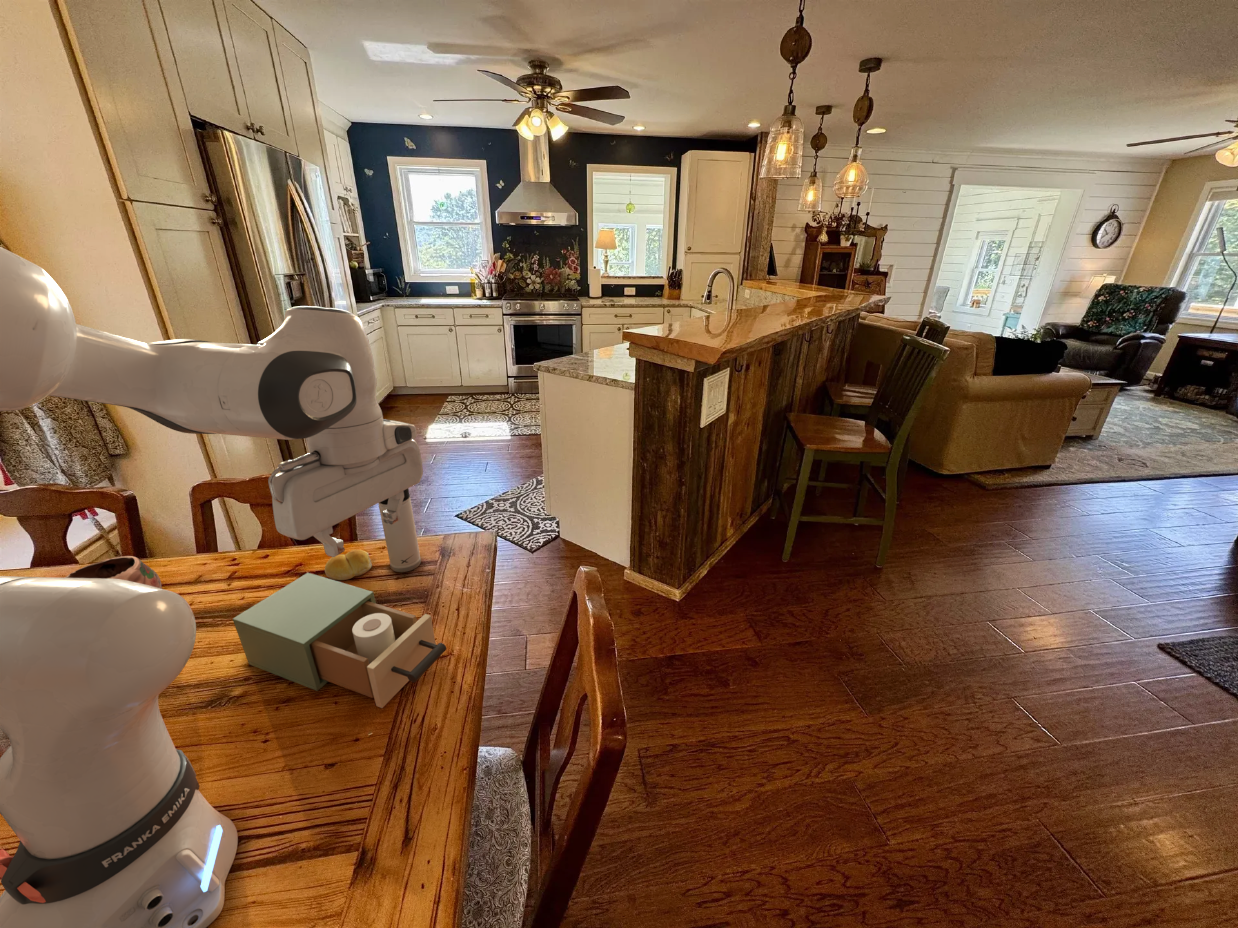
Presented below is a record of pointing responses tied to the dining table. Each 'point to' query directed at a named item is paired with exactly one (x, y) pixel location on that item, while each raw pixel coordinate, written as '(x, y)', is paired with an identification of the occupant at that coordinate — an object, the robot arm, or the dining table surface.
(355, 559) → the bread roll
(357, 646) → the paper towel roll
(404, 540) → the travel mug
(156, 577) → the decorative planter
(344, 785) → the dining table surface
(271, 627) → the cabinet
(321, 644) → the drawer
